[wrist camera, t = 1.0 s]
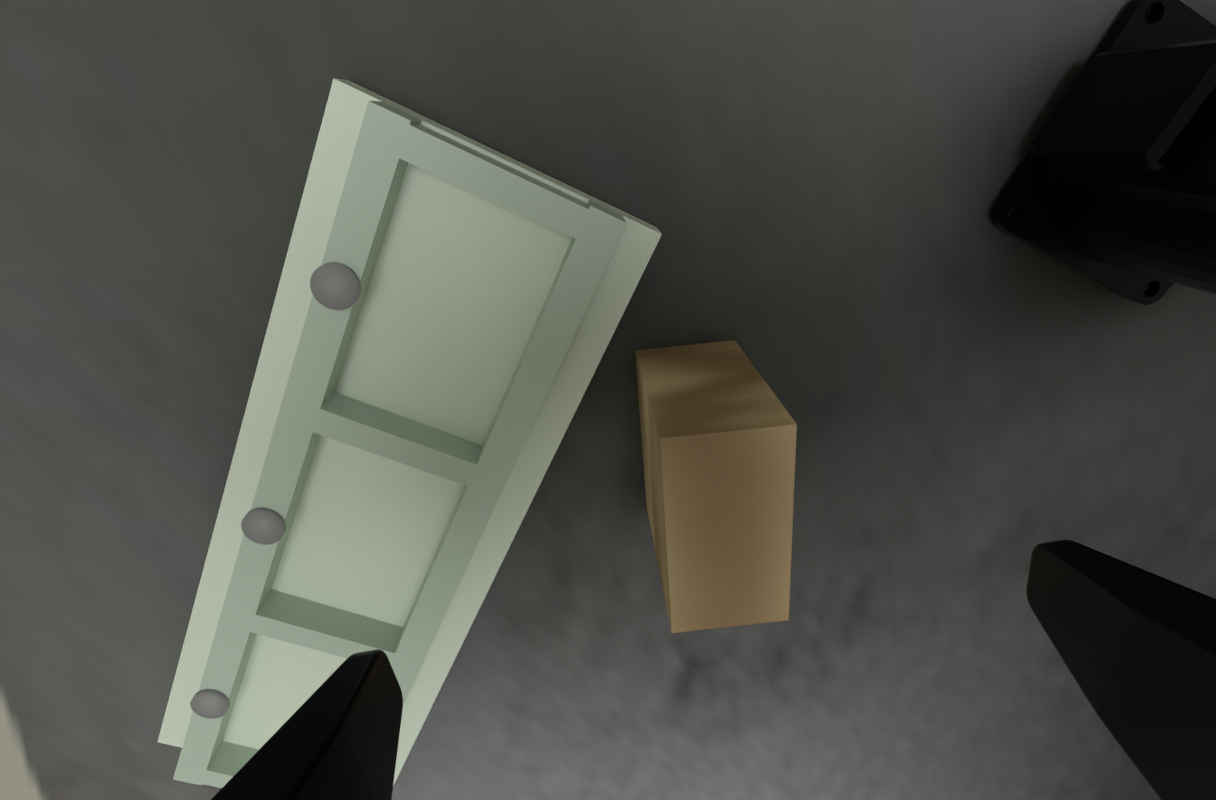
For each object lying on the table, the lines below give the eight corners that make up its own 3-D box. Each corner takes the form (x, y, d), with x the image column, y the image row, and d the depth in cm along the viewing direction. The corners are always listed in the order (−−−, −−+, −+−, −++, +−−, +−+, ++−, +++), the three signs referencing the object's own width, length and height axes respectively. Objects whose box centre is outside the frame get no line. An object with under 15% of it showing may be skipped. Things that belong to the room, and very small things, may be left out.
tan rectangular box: (741, 339, 20) (804, 423, 15) (740, 497, 23) (795, 619, 17) (634, 349, 20) (660, 438, 15) (646, 507, 23) (671, 633, 17)
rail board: (656, 227, 19) (669, 243, 16) (396, 767, 27) (379, 829, 25) (348, 80, 16) (312, 75, 14) (175, 715, 25) (135, 777, 23)
